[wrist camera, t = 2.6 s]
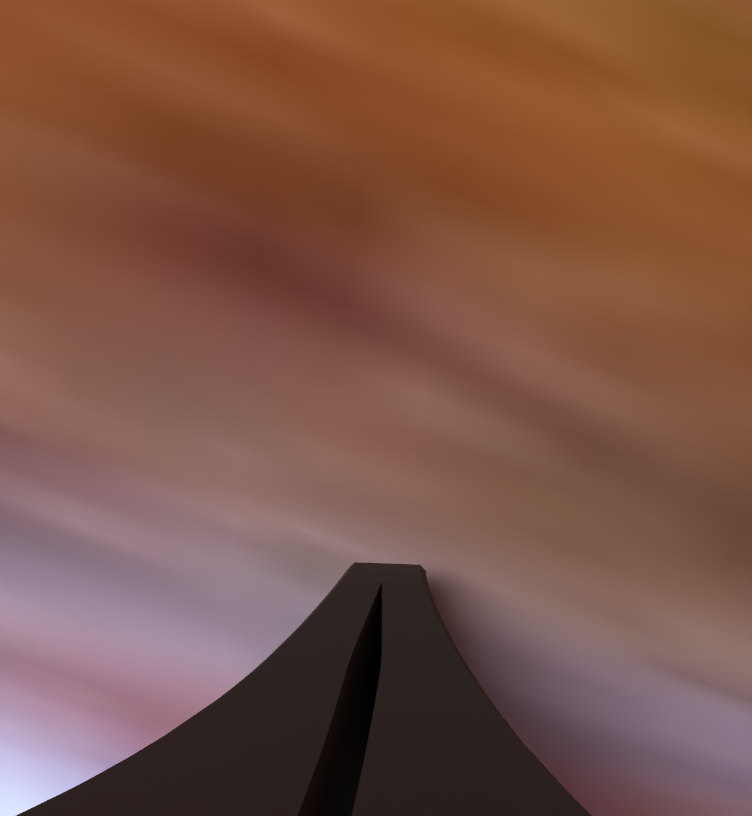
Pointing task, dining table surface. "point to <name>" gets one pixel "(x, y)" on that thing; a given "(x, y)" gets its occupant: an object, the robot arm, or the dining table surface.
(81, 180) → the dining table surface
